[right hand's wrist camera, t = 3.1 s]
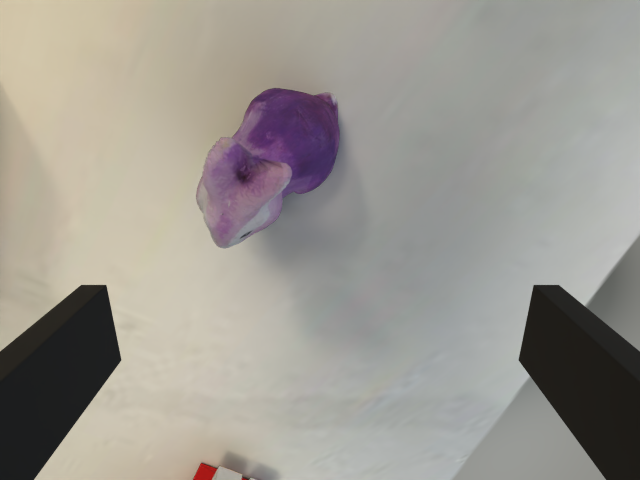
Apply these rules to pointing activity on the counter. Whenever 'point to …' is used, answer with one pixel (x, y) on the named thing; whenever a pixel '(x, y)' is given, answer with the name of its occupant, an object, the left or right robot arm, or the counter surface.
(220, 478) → the toy
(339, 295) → the counter surface
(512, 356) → the counter surface
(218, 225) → the figurine
